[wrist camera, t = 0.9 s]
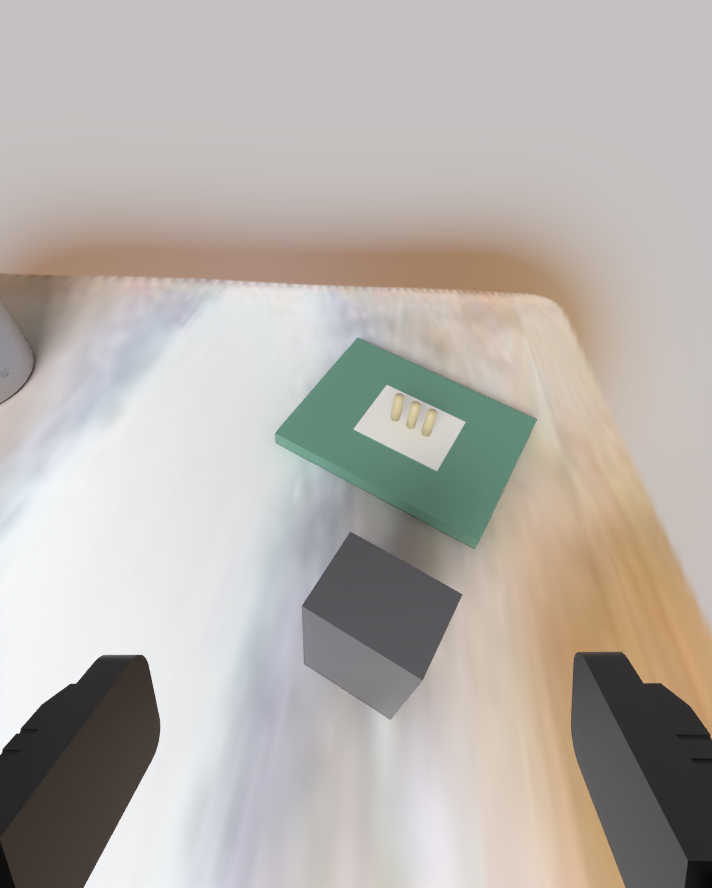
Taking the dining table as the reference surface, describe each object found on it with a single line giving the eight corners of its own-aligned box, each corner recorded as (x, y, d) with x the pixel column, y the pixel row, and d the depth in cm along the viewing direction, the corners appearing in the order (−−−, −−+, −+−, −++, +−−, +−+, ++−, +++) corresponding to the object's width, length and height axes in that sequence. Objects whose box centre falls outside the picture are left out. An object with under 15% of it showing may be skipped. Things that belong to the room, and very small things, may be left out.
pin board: (275, 442, 39) (272, 411, 36) (356, 348, 45) (359, 314, 42) (474, 549, 35) (490, 523, 32) (531, 428, 41) (549, 398, 38)
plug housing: (304, 663, 30) (301, 606, 22) (340, 604, 32) (350, 531, 24) (390, 719, 28) (422, 680, 20) (421, 653, 31) (462, 594, 22)
